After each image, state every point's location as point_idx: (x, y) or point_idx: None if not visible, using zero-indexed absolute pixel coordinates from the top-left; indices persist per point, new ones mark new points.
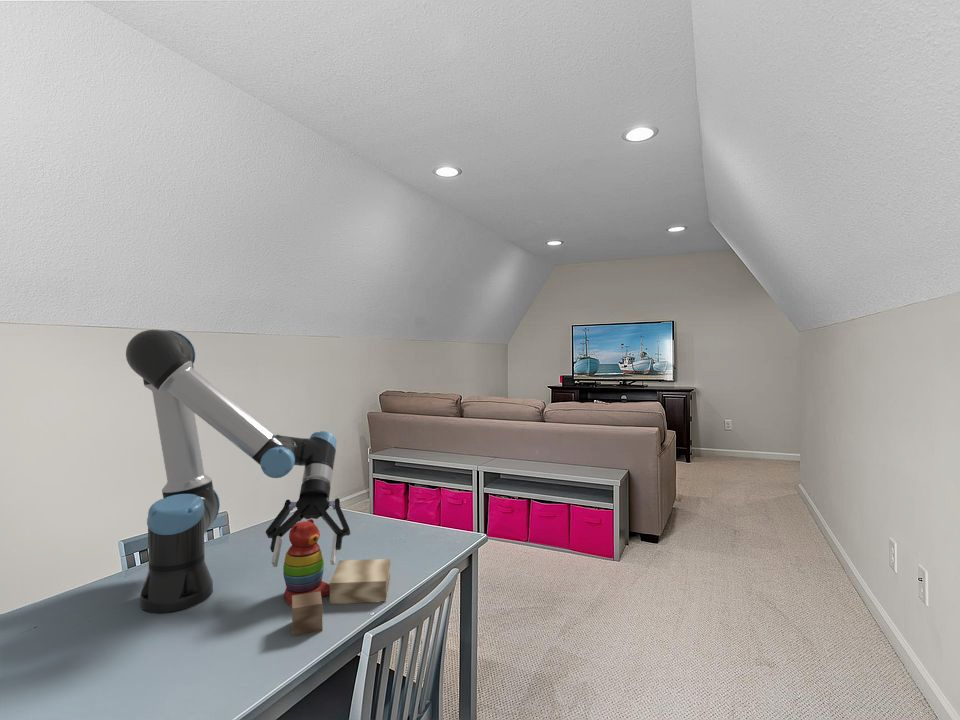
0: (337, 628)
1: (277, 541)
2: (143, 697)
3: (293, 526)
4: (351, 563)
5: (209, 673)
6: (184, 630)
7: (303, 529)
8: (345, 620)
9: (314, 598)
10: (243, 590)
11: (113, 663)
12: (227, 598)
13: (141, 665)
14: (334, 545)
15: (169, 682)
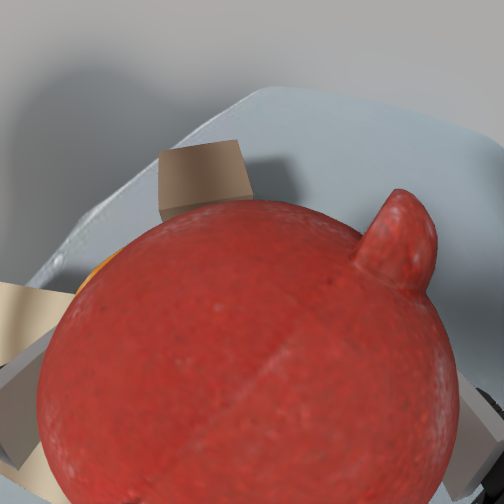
0: (139, 209)
1: (481, 410)
2: (398, 117)
3: (405, 193)
4: (47, 469)
5: (348, 131)
6: (474, 247)
7: (219, 203)
8: (117, 238)
9: (178, 173)
10: None
11: (487, 180)
12: None
13: (454, 167)
14: (22, 355)
15: (390, 129)
